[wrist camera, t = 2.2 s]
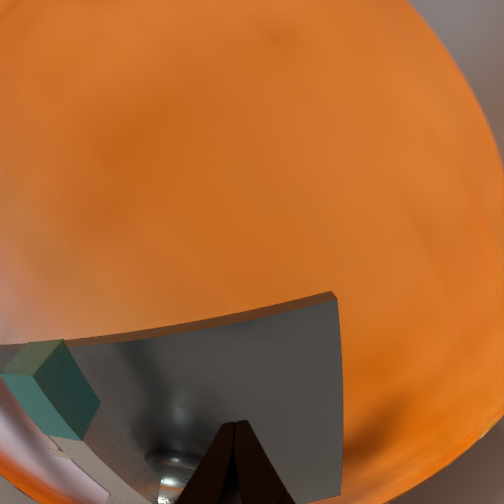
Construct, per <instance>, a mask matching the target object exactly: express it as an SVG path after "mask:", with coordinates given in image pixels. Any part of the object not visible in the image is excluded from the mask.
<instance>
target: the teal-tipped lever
mask: <svg viewBox="0 0 504 504" xmlns="http://www.w3.org/2000/svg"><path fill="white" fill-rule="evenodd" d="M0 376H1V378H2V379H3V381H4V382H5V384H6V385H7V387H8V388H9V390H10V391H11V393H12V394H13V395H14V397H15V398H16V400H17V401H18V402H19V404H20V405H21V406H22V408H23V409H24V410H25V412H26V413H27V414H28V415H29V417H30V418H31V419H32V420H33V422H34V423H35V424H36V425H37V426H38V428H39V429H40V430H41V431H42V432H43V433H44V434H46V435H49V436H50V437H51V438H52V440H53V441H54V442H55V443H56V444H57V445H58V446H59V447H60V448H61V449H62V450H63V451H64V452H65V453H66V454H67V455H68V456H69V457H70V458H71V459H72V460H73V461H74V462H75V463H76V464H77V465H78V466H79V467H80V468H81V469H82V470H84V471H85V472H86V473H87V474H88V475H89V476H90V477H91V478H93V479H94V480H95V481H96V482H97V483H99V484H100V485H101V486H102V487H103V488H105V489H106V490H107V491H108V492H110V493H109V497H108V500H107V504H174V503H175V501H176V500H177V499H178V497H179V495H180V494H181V492H182V491H183V489H184V488H185V486H186V484H187V483H188V481H189V480H190V478H191V476H192V475H193V473H194V471H195V470H194V469H189V468H185V467H180V466H175V465H169V464H162V463H153V462H146V461H145V460H144V459H143V458H142V457H141V456H140V455H139V454H138V452H137V451H136V450H135V449H134V448H133V447H132V446H131V444H130V443H129V442H128V441H127V440H126V439H125V437H124V436H123V435H122V434H121V433H120V431H119V430H118V429H117V428H116V426H115V425H114V424H113V422H112V421H111V420H110V419H109V417H108V416H107V415H106V413H105V412H104V410H103V409H102V408H101V406H100V403H101V401H100V399H99V398H98V397H97V395H96V394H95V392H94V391H93V389H92V388H91V386H90V384H89V383H88V381H87V380H86V378H85V377H84V375H83V373H82V372H81V370H80V368H79V367H78V365H77V363H76V362H75V360H74V358H73V356H72V354H71V353H70V351H69V349H68V347H67V345H66V343H65V342H64V340H63V339H60V340H50V341H38V342H28V343H27V344H26V345H25V346H24V347H23V348H22V349H21V350H20V351H19V352H18V353H17V354H16V355H15V357H14V358H13V359H12V360H11V361H10V362H9V363H8V364H7V365H6V366H5V367H4V368H3V369H2V371H1V372H0ZM178 500H179V499H178Z"/></svg>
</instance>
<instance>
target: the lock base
mask: <svg viewBox="0 0 504 504" xmlns="http://www.w3.org/2000/svg"><path fill="white" fill-rule="evenodd" d="M64 342H65V343H66V345H67V347H68V349H69V351H70V353H71V354H72V356H73V358H74V360H75V362H76V363H77V365H78V367H79V368H80V370H81V372H82V373H83V375H84V377H85V378H86V380H87V381H88V383H89V384H90V386H91V388H92V389H93V391H94V392H95V394H96V395H97V397H98V398H99V399H100V401H101V403H100V406H101V408H102V409H103V410H104V412H105V413H106V415H107V416H108V417H109V419H110V420H111V421H112V422H113V424H114V425H115V426H116V428H117V429H118V430H119V431H120V433H121V434H122V435H123V436H124V437H125V439H126V440H127V441H128V442H129V443H130V444H131V446H132V447H133V448H134V449H135V450H136V451H137V452H138V454H139V455H140V456H141V457H142V458H143V459H144V460H145V461H146V462H153V463H162V464H169V465H175V466H180V467H185V468H189V469H194V470H196V468H197V466H198V465H199V463H200V461H201V460H202V458H203V456H204V455H205V453H206V451H207V450H208V448H209V446H210V445H211V443H212V441H213V439H214V438H215V436H216V434H217V432H218V431H219V429H220V427H221V425H222V424H223V423H225V422H232V421H234V422H236V421H239V420H248V421H249V423H250V425H251V427H252V429H253V431H254V433H255V434H256V436H257V438H258V440H259V442H260V444H261V446H262V447H263V449H264V451H265V453H266V455H267V456H268V458H269V460H270V462H271V463H272V465H273V467H274V469H275V470H276V472H277V474H278V475H279V477H280V479H281V480H282V482H283V484H284V485H285V487H286V489H287V490H288V492H289V493H290V495H291V497H292V498H293V500H294V501H295V503H296V504H306V503H310V502H315V501H319V500H323V499H327V498H331V497H335V496H338V495H340V494H341V480H342V461H343V375H342V354H341V338H340V324H339V313H338V302H337V298H336V297H335V295H334V294H333V293H332V291H329V292H325V293H321V294H318V295H314V296H310V297H306V298H302V299H298V300H293V301H289V302H285V303H281V304H276V305H272V306H268V307H263V308H259V309H254V310H250V311H245V312H240V313H235V314H231V315H226V316H221V317H216V318H211V319H205V320H200V321H195V322H189V323H184V324H178V325H172V326H166V327H160V328H154V329H148V330H141V331H135V332H128V333H121V334H114V335H106V336H98V337H90V338H81V339H72V340H64ZM25 345H26V344H12V345H0V372H1V371H2V369H3V368H4V367H5V366H6V365H7V364H8V363H9V362H10V361H11V360H12V359H13V358H14V357H15V355H16V354H17V353H18V352H19V351H20V350H21V349H22V348H23V347H24V346H25ZM48 436H49V435H48ZM49 438H50V439H51V440H52V438H51V437H50V436H49ZM52 441H53V440H52ZM53 442H54V441H53ZM54 443H55V442H54ZM55 444H56V443H55ZM56 445H57V444H56ZM57 446H58V445H57ZM58 447H59V446H58ZM59 448H60V447H59ZM48 449H49V450H50V451H51V452H52V453H53V454H54V455H56V456H59V457H63V458H67V459H71V458H70V457H69V456H68V455H67V454H66V453H65V452H64V451H63V450H62V449H61V448H60V449H61V450H62V451H59V450H55V449H51V448H48ZM71 460H72V459H71ZM72 461H73V460H72ZM73 462H74V461H73ZM74 463H75V462H74ZM75 464H76V463H75ZM76 465H77V464H76ZM77 466H78V465H77ZM78 467H79V466H78ZM79 468H80V467H79ZM80 469H81V468H80ZM81 470H82V469H81ZM82 471H83V472H85V471H84V470H82ZM85 473H86V472H85ZM86 474H87V473H86ZM87 475H88V474H87ZM88 476H89V475H88ZM89 477H90V476H89ZM90 478H91V477H90ZM91 479H93V478H91ZM93 480H94V479H93ZM94 481H95V480H94ZM95 482H96V481H95ZM96 483H97V482H96ZM97 484H99V483H97ZM99 485H100V484H99ZM100 486H101V485H100ZM101 487H102V486H101ZM102 488H103V487H102ZM103 489H105V488H103ZM105 490H106V489H105ZM106 491H107V490H106ZM107 492H108V491H107ZM109 493H110V492H109Z"/></svg>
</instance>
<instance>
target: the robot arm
mask: <svg viewBox="0 0 504 504" xmlns="http://www.w3.org/2000/svg"><path fill="white" fill-rule="evenodd" d="M178 499H179V500H178ZM178 499H177V500H176V501H175V503H174V504H296V503H295V501H294V500H293V498H292V497H291V495H290V493H289V492H288V490H287V489H286V487H285V485H284V484H283V482H282V480H281V479H280V477H279V475H278V474H277V472H276V470H275V469H274V467H273V465H272V463H271V462H270V460H269V458H268V456H267V455H266V453H265V451H264V449H263V447H262V446H261V444H260V442H259V440H258V438H257V436H256V434H255V433H254V431H253V429H252V427H251V425H250V423H249V421H248V420H239V421H236V422H234V421H232V422H225V423H223V424H222V425H221V427H220V429H219V431H218V432H217V434H216V436H215V438H214V439H213V441H212V443H211V445H210V446H209V448H208V450H207V451H206V453H205V455H204V456H203V458H202V460H201V461H200V463H199V465H198V466H197V468H196V470H195V471H194V473H193V475H192V476H191V478H190V480H189V481H188V483H187V484H186V486H185V488H184V489H183V491H182V492H181V494H180V495H179V497H178Z"/></svg>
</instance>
